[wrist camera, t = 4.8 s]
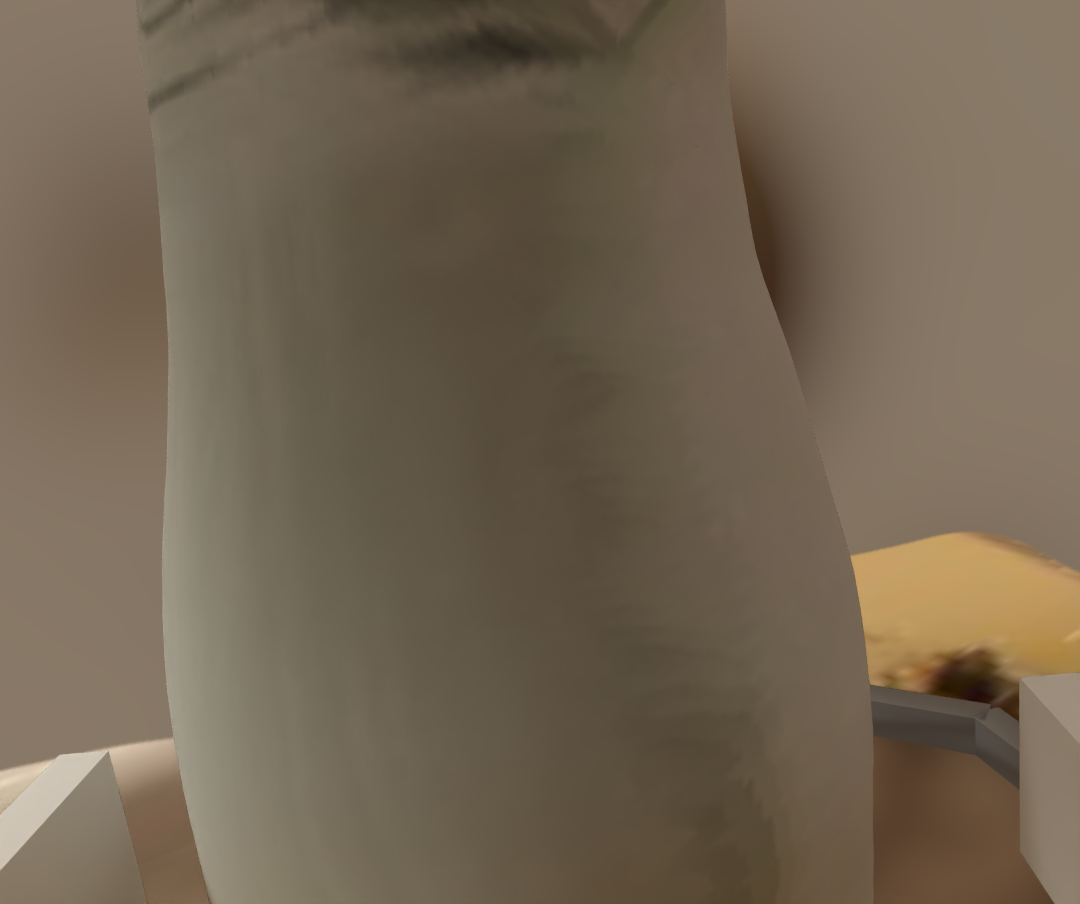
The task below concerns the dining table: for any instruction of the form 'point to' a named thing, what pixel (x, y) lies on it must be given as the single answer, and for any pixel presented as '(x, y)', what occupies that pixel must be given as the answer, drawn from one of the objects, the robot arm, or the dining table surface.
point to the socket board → (947, 803)
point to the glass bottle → (490, 468)
